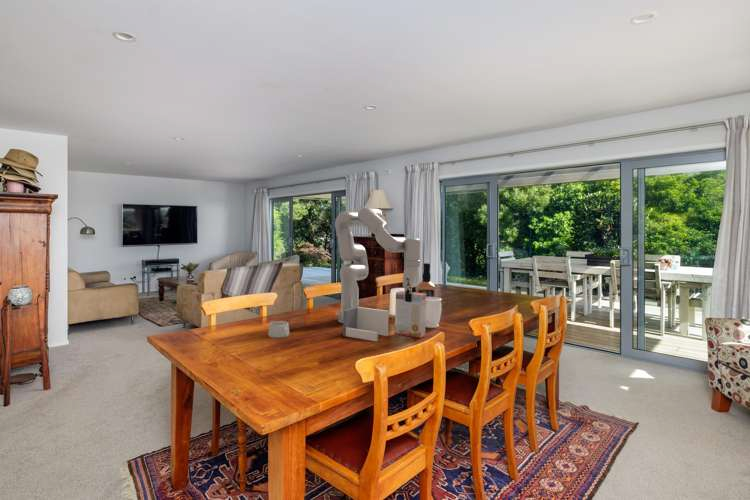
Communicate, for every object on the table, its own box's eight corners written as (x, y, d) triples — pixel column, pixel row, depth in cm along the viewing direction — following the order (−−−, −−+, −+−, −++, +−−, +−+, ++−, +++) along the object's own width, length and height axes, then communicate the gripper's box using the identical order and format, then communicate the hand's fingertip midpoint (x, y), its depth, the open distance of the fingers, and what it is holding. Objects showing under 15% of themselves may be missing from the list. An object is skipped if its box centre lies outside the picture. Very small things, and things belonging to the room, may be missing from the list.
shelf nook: (343, 335, 193) (343, 310, 192) (355, 330, 203) (356, 306, 203) (376, 341, 185) (377, 315, 184) (387, 335, 195) (388, 310, 194)
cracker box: (425, 335, 195) (426, 293, 194) (420, 338, 190) (421, 295, 189) (400, 331, 203) (401, 290, 201) (394, 334, 197) (395, 291, 196)
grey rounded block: (264, 335, 192) (264, 322, 191) (283, 331, 198) (283, 319, 197) (276, 341, 182) (276, 328, 182) (295, 337, 188) (295, 324, 188)
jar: (428, 329, 208) (429, 300, 207) (417, 324, 217) (417, 297, 216) (444, 327, 212) (445, 299, 211) (433, 322, 222) (434, 295, 221)
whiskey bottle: (435, 321, 225) (436, 264, 222) (417, 321, 225) (418, 264, 223) (432, 317, 235) (434, 262, 233) (415, 316, 235) (417, 262, 233)
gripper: (411, 261, 204) (410, 297, 205) (397, 264, 188) (396, 302, 189) (425, 262, 200) (424, 298, 201) (412, 265, 185) (411, 304, 186)
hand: (410, 300), depth 195 cm, fingers closed on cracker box, 6 cm apart
